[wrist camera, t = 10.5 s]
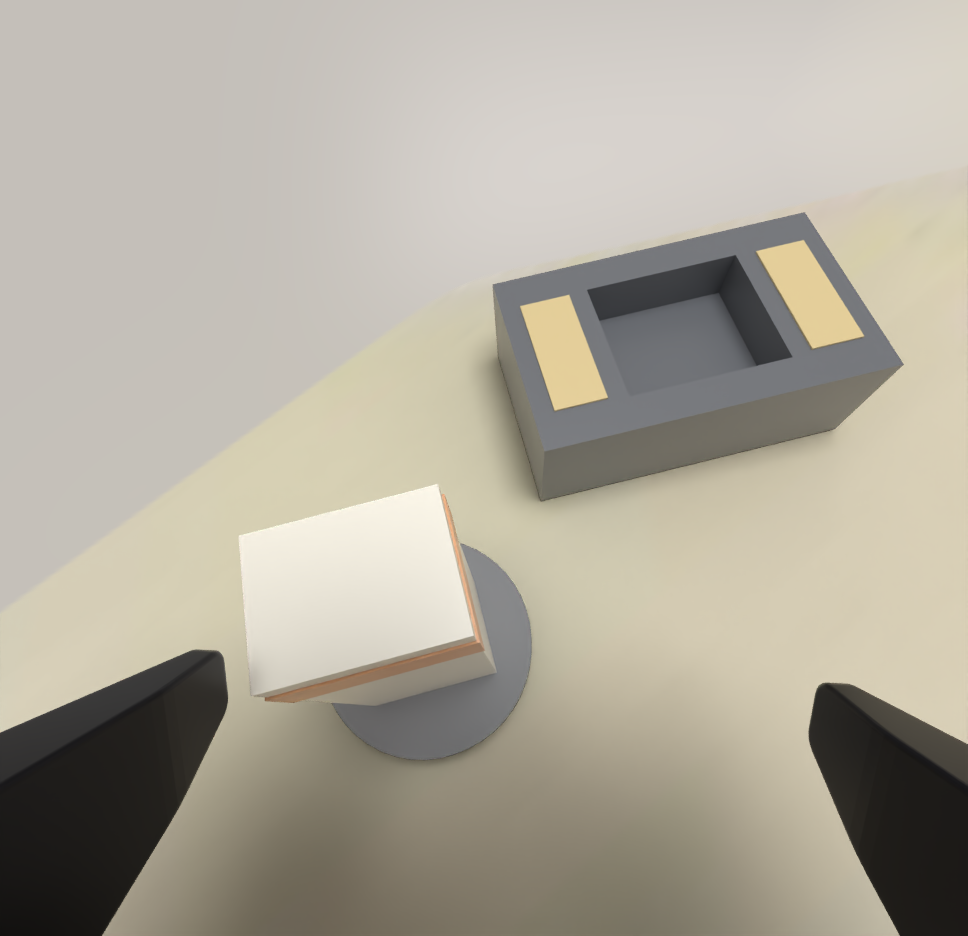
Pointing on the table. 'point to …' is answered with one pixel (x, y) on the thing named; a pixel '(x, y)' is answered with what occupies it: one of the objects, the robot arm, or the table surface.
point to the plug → (362, 604)
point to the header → (684, 353)
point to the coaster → (463, 706)
